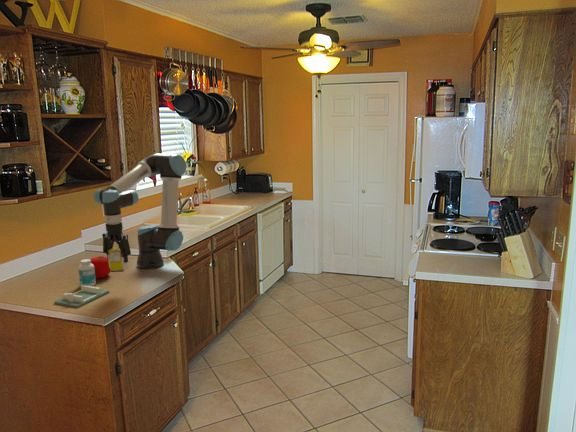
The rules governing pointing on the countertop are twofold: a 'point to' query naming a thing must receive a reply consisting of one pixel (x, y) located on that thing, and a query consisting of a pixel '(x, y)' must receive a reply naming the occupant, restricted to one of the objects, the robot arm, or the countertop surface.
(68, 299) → the board
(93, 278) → the pill bottle
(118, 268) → the supplement box
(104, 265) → the tomato
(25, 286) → the countertop surface
